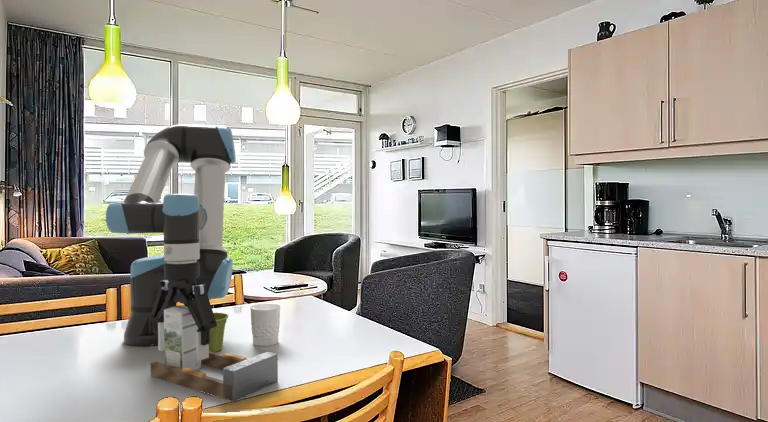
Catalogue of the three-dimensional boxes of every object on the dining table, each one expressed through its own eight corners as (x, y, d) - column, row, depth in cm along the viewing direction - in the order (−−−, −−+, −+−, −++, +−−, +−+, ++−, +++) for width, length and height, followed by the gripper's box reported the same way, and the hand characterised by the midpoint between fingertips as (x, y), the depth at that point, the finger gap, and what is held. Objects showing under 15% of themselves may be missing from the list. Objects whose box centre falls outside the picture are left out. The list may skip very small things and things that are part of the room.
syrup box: (202, 368, 111) (201, 305, 111) (181, 376, 106) (181, 311, 105) (184, 364, 114) (183, 303, 113) (163, 372, 108) (162, 308, 108)
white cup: (272, 348, 126) (272, 310, 126) (245, 346, 128) (245, 309, 127) (285, 339, 134) (284, 303, 133) (258, 338, 135) (258, 302, 135)
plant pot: (206, 358, 118) (205, 323, 118) (182, 351, 123) (181, 318, 123) (236, 348, 126) (236, 315, 126) (212, 342, 131) (212, 311, 131)
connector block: (223, 398, 94) (223, 368, 94) (267, 378, 104) (267, 351, 104) (233, 401, 92) (233, 371, 92) (277, 381, 103) (277, 353, 103)
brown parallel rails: (150, 376, 106) (150, 360, 106) (197, 360, 116) (197, 345, 116) (231, 401, 93) (231, 383, 93) (276, 380, 103) (276, 364, 103)
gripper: (133, 259, 112) (135, 349, 113) (204, 267, 99) (205, 368, 100) (163, 256, 119) (164, 341, 119) (232, 263, 106) (233, 358, 106)
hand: (182, 354), depth 110 cm, fingers open, 13 cm apart
